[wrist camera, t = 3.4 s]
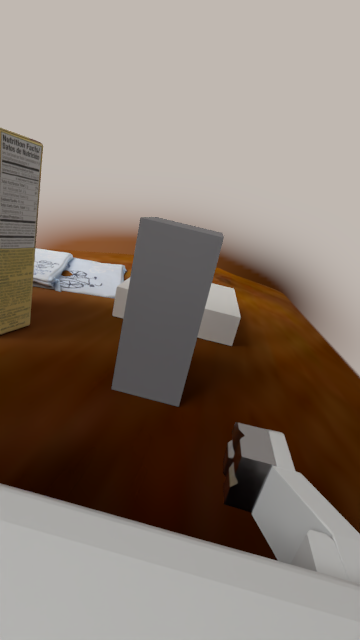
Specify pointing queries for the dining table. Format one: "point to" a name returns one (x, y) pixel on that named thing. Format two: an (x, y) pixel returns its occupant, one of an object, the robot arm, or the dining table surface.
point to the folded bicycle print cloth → (76, 274)
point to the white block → (216, 318)
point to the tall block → (164, 308)
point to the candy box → (18, 226)
